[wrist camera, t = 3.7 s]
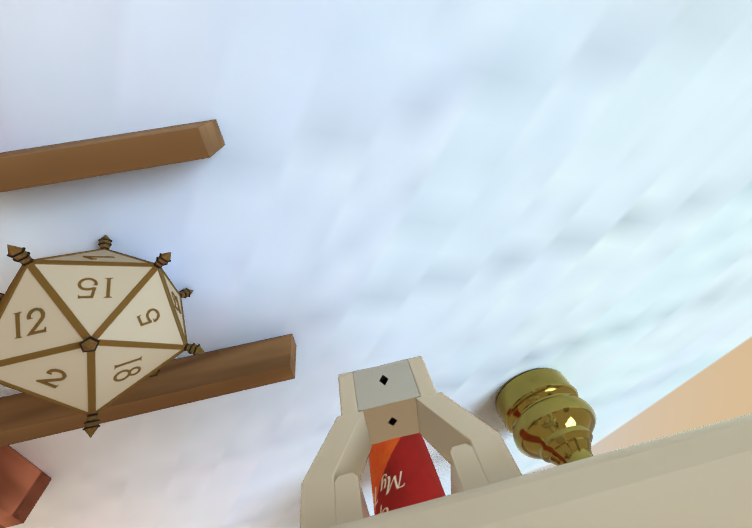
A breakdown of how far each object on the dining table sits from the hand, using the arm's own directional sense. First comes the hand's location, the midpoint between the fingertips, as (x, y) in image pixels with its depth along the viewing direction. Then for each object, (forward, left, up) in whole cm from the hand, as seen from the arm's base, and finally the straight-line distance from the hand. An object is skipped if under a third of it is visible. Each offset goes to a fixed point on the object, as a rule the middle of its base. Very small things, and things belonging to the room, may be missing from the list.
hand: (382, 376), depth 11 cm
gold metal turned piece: (+20, +15, -11) cm, 27 cm away
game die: (-1, -13, -11) cm, 17 cm away
